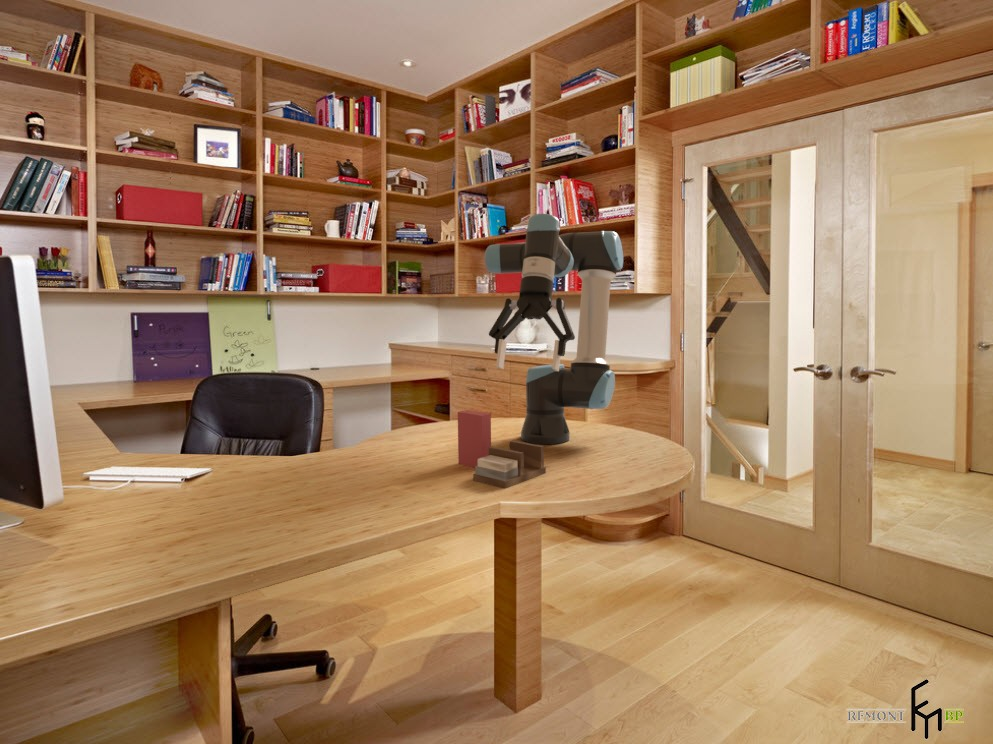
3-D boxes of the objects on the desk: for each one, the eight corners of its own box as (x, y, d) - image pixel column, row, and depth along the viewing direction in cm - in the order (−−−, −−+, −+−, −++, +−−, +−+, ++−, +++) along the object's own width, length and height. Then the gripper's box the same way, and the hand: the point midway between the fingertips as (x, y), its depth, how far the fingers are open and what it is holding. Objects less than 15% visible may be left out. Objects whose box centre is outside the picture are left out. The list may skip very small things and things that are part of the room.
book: (467, 461, 167) (466, 410, 166) (491, 466, 162) (490, 413, 160) (458, 463, 165) (457, 411, 163) (482, 469, 159) (481, 415, 157)
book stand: (514, 466, 162) (514, 439, 161) (545, 472, 155) (545, 445, 154) (473, 480, 149) (472, 451, 149) (505, 488, 143) (504, 458, 142)
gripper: (482, 275, 146) (470, 363, 142) (584, 272, 135) (575, 367, 132) (495, 286, 152) (484, 370, 149) (593, 284, 142) (584, 374, 138)
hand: (526, 369), depth 140 cm, fingers open, 13 cm apart
